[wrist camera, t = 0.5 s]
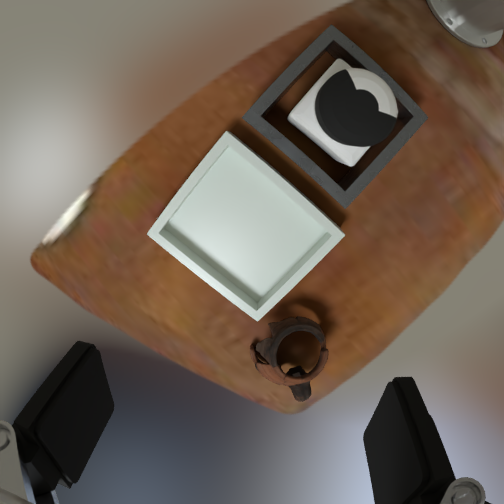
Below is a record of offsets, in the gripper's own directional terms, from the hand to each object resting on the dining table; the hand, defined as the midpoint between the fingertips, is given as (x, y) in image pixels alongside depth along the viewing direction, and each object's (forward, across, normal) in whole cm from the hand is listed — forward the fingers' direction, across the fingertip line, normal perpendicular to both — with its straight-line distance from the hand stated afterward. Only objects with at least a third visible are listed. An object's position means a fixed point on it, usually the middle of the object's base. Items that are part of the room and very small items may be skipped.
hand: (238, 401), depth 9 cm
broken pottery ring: (+28, -5, +18) cm, 33 cm away
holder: (+28, -6, -11) cm, 30 cm away
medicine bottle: (+28, -6, -11) cm, 30 cm away
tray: (+27, +2, +2) cm, 28 cm away
